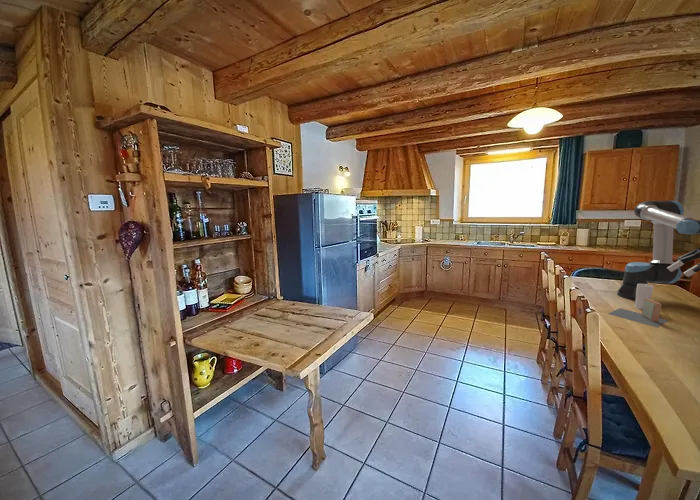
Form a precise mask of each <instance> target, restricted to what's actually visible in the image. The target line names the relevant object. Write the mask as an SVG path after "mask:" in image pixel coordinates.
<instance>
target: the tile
mask: <svg viewBox="0 0 700 500" xmlns="http://www.w3.org/2000/svg"><path fill="white" fill-rule="evenodd" d="M662 305H663V304H662V303H660V302H658V301H656V300H654V299H652V298H651V299H645V301H644V306H643V310H642V312H641V314H642V316H644V317H646V318H647V319H649V320H651V321H656V322H658V320H659V318H660V314H661V309H662Z"/></svg>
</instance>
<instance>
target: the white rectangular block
mask: <svg viewBox="0 0 700 500" xmlns="http://www.w3.org/2000/svg"><path fill="white" fill-rule="evenodd" d="M653 292H654V285H651V284H649V283H648V284H637V288H636V300H634V301H635V305H634V308H635V309H638V310H642V311H643V306H644V301H645V299H652V296H653Z"/></svg>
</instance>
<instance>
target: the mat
mask: <svg viewBox="0 0 700 500" xmlns="http://www.w3.org/2000/svg"><path fill="white" fill-rule="evenodd" d="M607 314H608V315H610V316H614V317H619V318H621V319H625V320H629V321H632V322H636V323H639V324H642V325H643V324H644V325H646V326H650V327H654V328H659V327H661V326H662V325H664V324H666V323H667V322H669V320H667V319H664V318H660V317H659V320H658V322H656V321H651V320H649V319H647V318H646V317H644V316H642V312H637V311H632V310H628V309H625V308H617V309H614V310H613V311H611V312H608V313H607Z"/></svg>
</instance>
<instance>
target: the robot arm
mask: <svg viewBox="0 0 700 500" xmlns="http://www.w3.org/2000/svg"><path fill="white" fill-rule="evenodd" d="M633 213H634V215H635V216H636V217H637V218H640V219H642V220H645V221H649V220H650V222H651V224H653V239H652V240H653V243H652V247H653V248H652V260H651V261H649V262H645V261H644V262H642V261H641V262H640V261H634V262H633V261H632V262H629V263H627V264H626V265H625V268H624V273H623V274H624V275H623V279H622V284H621V285H620V287H619V288H618V290H617V291H616V292H617V296H619V297H622V298H625V299H630V300H634V301H636V288H637V284H648V285H649V283H651V284H652V283H653V284H674V283H676V282H678V281H679V280H680V278H681V276H682V270H681V268H680V267H682V266H683V265H685V263H688V262H691V261H694V260H697V259H700V247H696V248H694V250H692V251H689V252H688V253H687V252H686V253H685V254H683V255H681V256H678V257H677V261H673V255H674V254H673V253H674V252H673V251H674V229H675V230H676V231H677V232H678V233H679V234H683V235H700V219H694V218H692V217H688V216H686V215H683V214H684V213H685V209H684V206H683V204H682V203H680V202H679V201H677V200H669V199H668V200H647V201H646V200H645V201H643V202H640V203H639V204H637V205H636V206H635V207H634V211H633ZM698 272H700V263H698V264H696V265H694V266H692V267H691V268H688V269H687V270H686V271H684V272H683V274H684V275H685V276H686V277H687V278H690V277H691V276H693V275H695V274H696V273H698Z"/></svg>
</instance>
